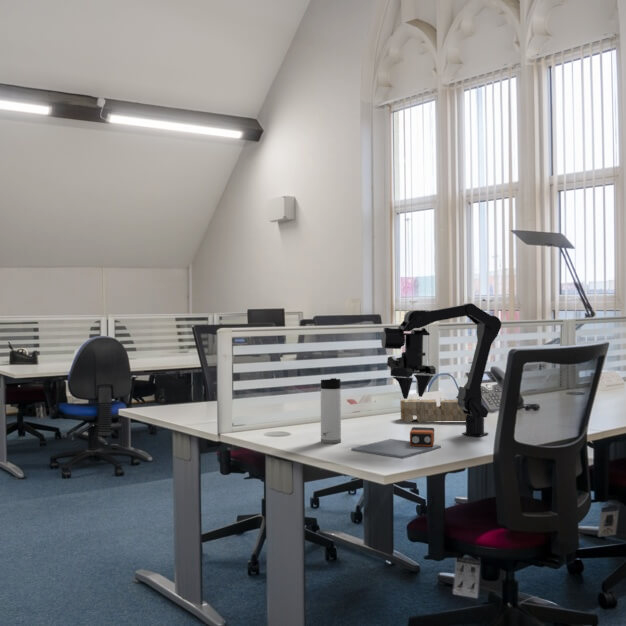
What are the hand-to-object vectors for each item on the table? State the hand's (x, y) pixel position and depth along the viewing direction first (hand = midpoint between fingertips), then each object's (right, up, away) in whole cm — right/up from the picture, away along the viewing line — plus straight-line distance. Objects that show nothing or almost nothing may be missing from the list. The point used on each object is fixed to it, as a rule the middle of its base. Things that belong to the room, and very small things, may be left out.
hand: (412, 397), depth 236 cm
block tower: (+15, -13, +34) cm, 39 cm away
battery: (+2, -10, -12) cm, 15 cm away
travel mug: (-27, -13, -9) cm, 31 cm away
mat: (-8, -13, -21) cm, 25 cm away
